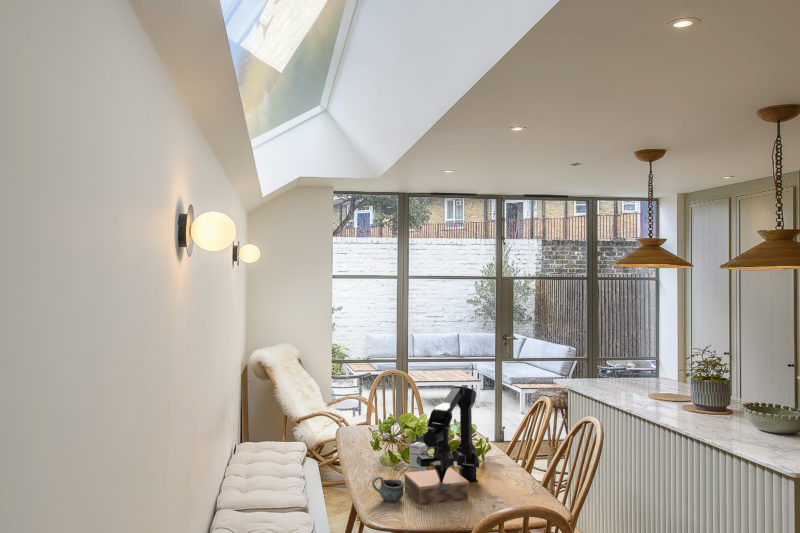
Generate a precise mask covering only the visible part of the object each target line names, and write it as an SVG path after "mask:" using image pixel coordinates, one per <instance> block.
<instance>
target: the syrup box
mask: <svg viewBox="0 0 800 533" xmlns="http://www.w3.org/2000/svg"><path fill="white" fill-rule="evenodd" d="M408 449H409V472H417V471H428V470H429V469H428V468H429V466H426V467H421V466H420V465H419V464H417V463H416V459H417V457H418V456H422V455H427V456H428V446H426V445H425V443H424V442H420V441H416V442H415V443H411V444H409V448H408Z"/></svg>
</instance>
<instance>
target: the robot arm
mask: <svg viewBox="0 0 800 533" xmlns="http://www.w3.org/2000/svg"><path fill="white" fill-rule="evenodd" d="M476 398H477V392H476V390H475V389H474V388H473V387H472V388H471V387H466V386H464V385H459V384H454V385H452V386H451V389H450V391H449V392H448V394H447V395H446V397H445V398H444V400H443V401H442V403H440V404H437V405H436V406H435V407H434V408H433V409H432V411H431V412H430V416H429V417H428V418H429V419H428V423H427V428H428V429H427V432H425V433H424V434H423V438H422V439H423V441H422V442H423V443H425V445H426V446H427V448H433V452H432V456H433V457H429V456H428V454H427V455H422V456H418V457H417V459H416V463H417V464H419V465H420V466H421V467H426V466H428V467H430V466H432V467H434V468H433V469H434V470H436V472H437V475H438V478H439V480H440V482H443V479H444V476H445V474H446V471H447V469H448V468H451V467H452V466H454V464H455V462H456V466H459V469H458V474H459V475H461V476H462V477H463V478H465V479H466V480H468V481H469V483H474V482H475V483H476V482H479V479H478V478H477V468H479V467H480V460H481V459H480V458H479V456H478V454H477V451H476V450H477V449H476V447H475V445H474V443H473V438H472V437H473V434H472V433H473V432H472V429H473V428H472V423H473V422H472V407H473V406H474V405H475V403H476ZM457 406H458V408H459V412H460V413H459V416H460V417H459V419H460V421H459V423H460V425H459V426H460V429H459V430H460V431H459V432H460V443H459V445H458V446H457V447H456V450H451V446H450V444H449V441H450V440H449V437H450V436H449V434H450V432H449V430H450V429H449V428H451V423H452V419H453V411H454V409H455V407H457Z"/></svg>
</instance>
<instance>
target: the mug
mask: <svg viewBox="0 0 800 533" xmlns="http://www.w3.org/2000/svg"><path fill="white" fill-rule="evenodd" d="M377 480H380V487H379V488H377V486H376V485H375V483H376V481H377ZM371 483H372V484H371V485H372V487H373V489H374V490H375V491H377V492H378V493H379V495H380V498H382V499H383V500H384V501H385V502H388V503H396V502H398V501H400V500H401V499H402V498H403V495H404V487H405V481H403V480H401V479H395V478H390V479H384V478H383V476H382V475H376V476H375V477H373V478H372V482H371Z"/></svg>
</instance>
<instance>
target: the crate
mask: <svg viewBox="0 0 800 533" xmlns="http://www.w3.org/2000/svg"><path fill="white" fill-rule="evenodd" d="M404 491H405V492H406V493H407V494H408V495H409V497H410V498H412V500H414V501H415V502H416V504H418V505H419V506H427V505H435V504H436V503H437V504H446V503H453V502H461V501H469V484H466V485H457V486H450V489H446V490H440V487H439V488H430V489H419V488H417V487H416V486H415V485H414V484H413V483H412V482H411V481H410V480H409V479H408V478H407V477H406V476H405V475H404ZM445 502H446V503H445Z"/></svg>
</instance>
